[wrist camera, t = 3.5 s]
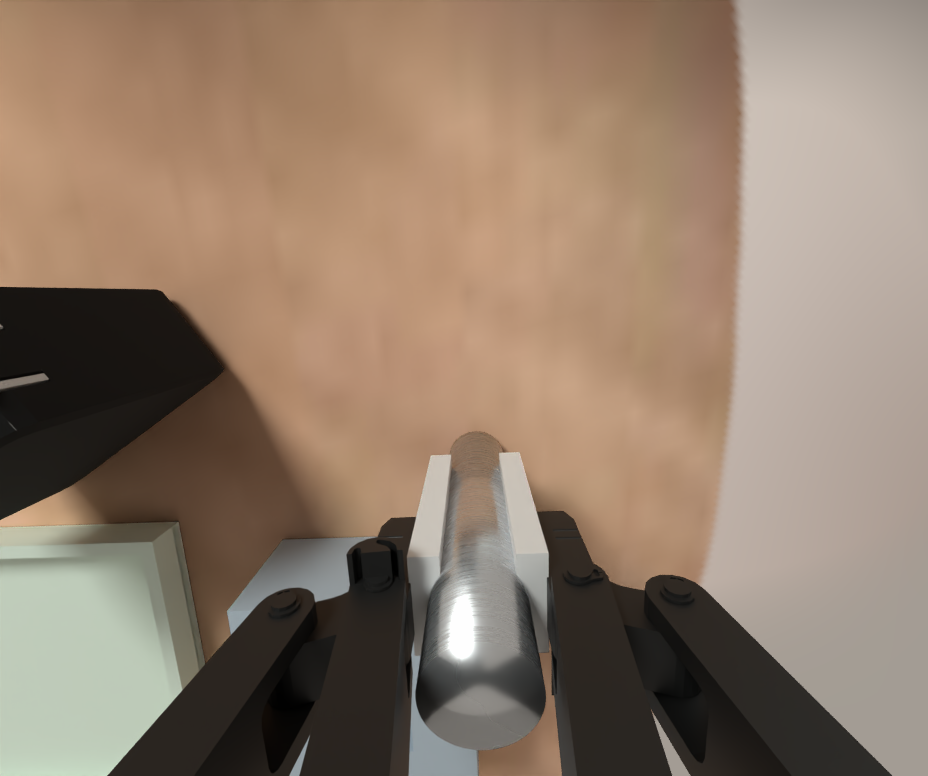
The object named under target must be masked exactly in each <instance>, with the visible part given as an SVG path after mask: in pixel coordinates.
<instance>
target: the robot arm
mask: <svg viewBox="0 0 928 776" xmlns="http://www.w3.org/2000/svg"><path fill="white" fill-rule="evenodd" d="M499 466H500V473H501V479H502V485H503V492H504V498H505V505H506V511H507V518H508V524H509V530H510V537H511V543H512V550H513V556H514V563H515V569H516V575H517V576H518V577H519V578H520V579H521V581H522V582H523V583H524V585H525V587H526V589H527V592H528V596H529V601H530V606H531V612H532V618H533V623H534V629H535V635H536V640H537V646H538V652H539V653H547V652H549V640H550V644H551V649H552V695H554V697H555V707H556V718H557V728H558V738H559V748H560V758H561V769H562V776H672V774H671V771H670V767H669V765H668V761H667V758H666V755H665V752H664V749H663V746H662V743H661V740H660V737H659V734H658V730H657V727H656V724H655V721H654V718H653V715H652V712H651V710H652V711H653V713H654V715H655V716H656V718H657V720H658V721H659V723H660V725H661V727H662V728H663V730H664V732H665V733H666V735H667V737H668V738H669V740H670V742H671V743H672V745H673V746H674V748H675V750H676V752H677V753H678V755H679V756H680V758H681V760H682V762H683V764H684V765H685V767H686V769H687V770H688V772H689V774H690V775H691V776H892V775H891V774H890V773H889V772H888V771H887V770H886V769H885V768H884V767H883V766H882V765H881V764H880V763H879V762H878V761H877V760H876V759H875V758H874V757H873V756H872V755H871V754H870V753H869V752H868V751H867V750H866V749H865V748H864V747H863V746H862V745H861V744H860V743H859V742H858V741H857V740H856V739H855V738H854V737H853V736H852V735H850V733H849V732H848V731H847V730H846V729H845V728H844V727H842V725H841V724H840V723H839V722H838V721H837V720H836V719H835V718H833V716H831V715H830V713H829V712H827V711H826V710H825V709H824V708H823V707H822V706H821V705H820V704H819V703H818V702H817V701H816V700H815V699H814V698H813V697H812V696H811V695H810V694H809V693H808V692H807V691H806V690H805V689H804V688H803V687H802V686H801V685H800V684H799V683H798V682H797V681H796V680H795V679H794V678H793V677H792V676H791V675H790V674H789V673H788V672H787V671H786V670H785V669H784V668H783V667H782V666H781V665H780V664H779V663H778V662H777V661H776V660H775V659H774V658H773V657H772V656H771V655H770V654H769V653H768V652H767V651H766V650H765V649H764V648H763V647H762V646H761V645H760V644H759V643H758V642H757V641H756V640H755V639H754V638H753V637H752V636H751V635H750V634H749V633H748V632H747V631H746V630H745V629H744V628H743V627H742V626H741V625H740V624H739V623H738V622H737V621H736V620H735V619H734V618H733V617H732V616H731V615H730V614H729V613H728V612H727V611H726V610H725V609H724V608H723V607H722V606H721V605H720V604H719V603H718V602H717V601H716V600H715V599H714V598H713V597H712V596H711V595H710V594H709V593H708V592H706V590H704V589H703V588H702V587H701V586H699V585H698V584H696V583H695V582H693V581H690V580H688V579H686V578H683V577H679V576H674V575H659V576H655V577H652V578H650V579H649V580H648V581H647V582H646V586H645V591H644V590H638V589H633V588H628V587H624V586H620V585H617V584H615V583H612V582H610V581H609V578H608V576H607V575H606V573H605V571H604V570H603V569H601V568H600V567H598V566H597V565H595V564H593V562H592V560H591V557H590V555H589V553H588V551H587V548H586V546H585V544H584V542H583V539H581V535H580V533H579V531H578V528H577V526H576V523H575V521H574V519H573V518H572V517H570V516H569V515H568V514H566V513H565V512H564V511H546V512H536V508H535V505H534V501H533V498H532V494H531V491H530V488H529V484H528V481H527V477H526V474H525V470H524V467H523V463H522V460H521V457H520V453H519V452H510V453H499ZM451 472H452V461H451V455H431V458H430V462H429V466H428V470H427V475H426V479H425V483H424V487H423V491H422V496H421V500H420V504H419V508H418V512H417V517H404V518H391V519H390V520H388V521H387V522H386V523H385V524H384V525H383V526H382V527H381V530H380V532H379V535H378V537H375V538H370V539H366V540H363V541H361V542H358V543H357V544H355V545H354V546H353V547H351V548H350V549H349V551H348V552H347V554H346V556H347V565H348V574H349V583H350V586H349V590H348V592H346V593H344V594H342V595H339V596H336V597H333V598H329V599H325V600H321V601H317V602H315V598H314V594H313V593H312V592H311V591H310V590H308V589H304V588H300V587H298V588H287V589H284V590H280V591H277V592H275V593H273V594H271V595H269V596H267V597H266V598H265V599H264V600H262V601H261V602H260V603H259V604H258V605H257V606H256V607H255V608H254V609H253V611H252V612H251V613H250V614H249V615H248V616H247V617H246V619H245V620H244V621H243V622H242V623H241V624H240V625H239V626H238V628H237V629H236V630H235V631H234V632H233V633H232V634H231V636H230V637H229V638H228V639H227V640H226V641H225V642H224V644H223V645H222V646H221V647H220V648H219V649H218V650H217V651H216V653H215V654H214V655H213V656H212V657H211V658H210V659H209V661H208V662H207V663H206V664H205V665H204V666H203V667H202V669H201V670H200V671H199V672H198V673H197V674H196V675H195V676H194V678H193V679H192V680H191V681H190V682H189V683H188V684H187V686H186V687H185V688H184V689H183V690H182V691H181V692H180V694H179V695H178V696H177V697H176V698H175V699H174V700H173V701H172V703H171V704H170V705H169V706H168V707H167V708H166V709H165V711H164V712H163V713H162V714H161V715H160V716H159V717H158V719H157V720H156V721H155V722H154V723H153V724H152V725H151V726H150V728H149V729H148V730H147V731H146V732H145V733H144V734H143V736H142V737H141V738H140V739H139V740H138V741H137V742H136V744H135V745H134V746H133V747H132V748H131V749H130V750H129V751H128V753H127V754H126V755H125V756H124V757H123V758H122V759H121V761H120V762H119V763H118V764H117V765H116V766H115V767H114V769H113V770H112V771H111V772H110V773H109V774H108V775H107V776H289V775H290V773H291V771H292V769H293V767H294V765H295V763H296V761H297V759H298V758H299V756H300V754H301V752H302V750H303V748H304V746H305V744H306V742H307V740H308V738H309V741H308V744H307V748H306V752H305V756H304V759H303V763H302V767H301V771H300V775H299V776H409V753H410V729H411V704H412V680H413V668H412V656H411V654H412V648H413V642H414V653H415V656H421V649H422V642H423V635H424V629H425V622H426V615H427V608H428V601H429V595H430V592H431V589H432V587H433V585H434V583H435V582H436V580H437V579H438V578H439V577H440V573H441V564H442V555H443V546H444V536H445V527H446V518H447V509H448V500H449V490H450V481H451ZM309 736H310V737H309Z"/></svg>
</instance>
